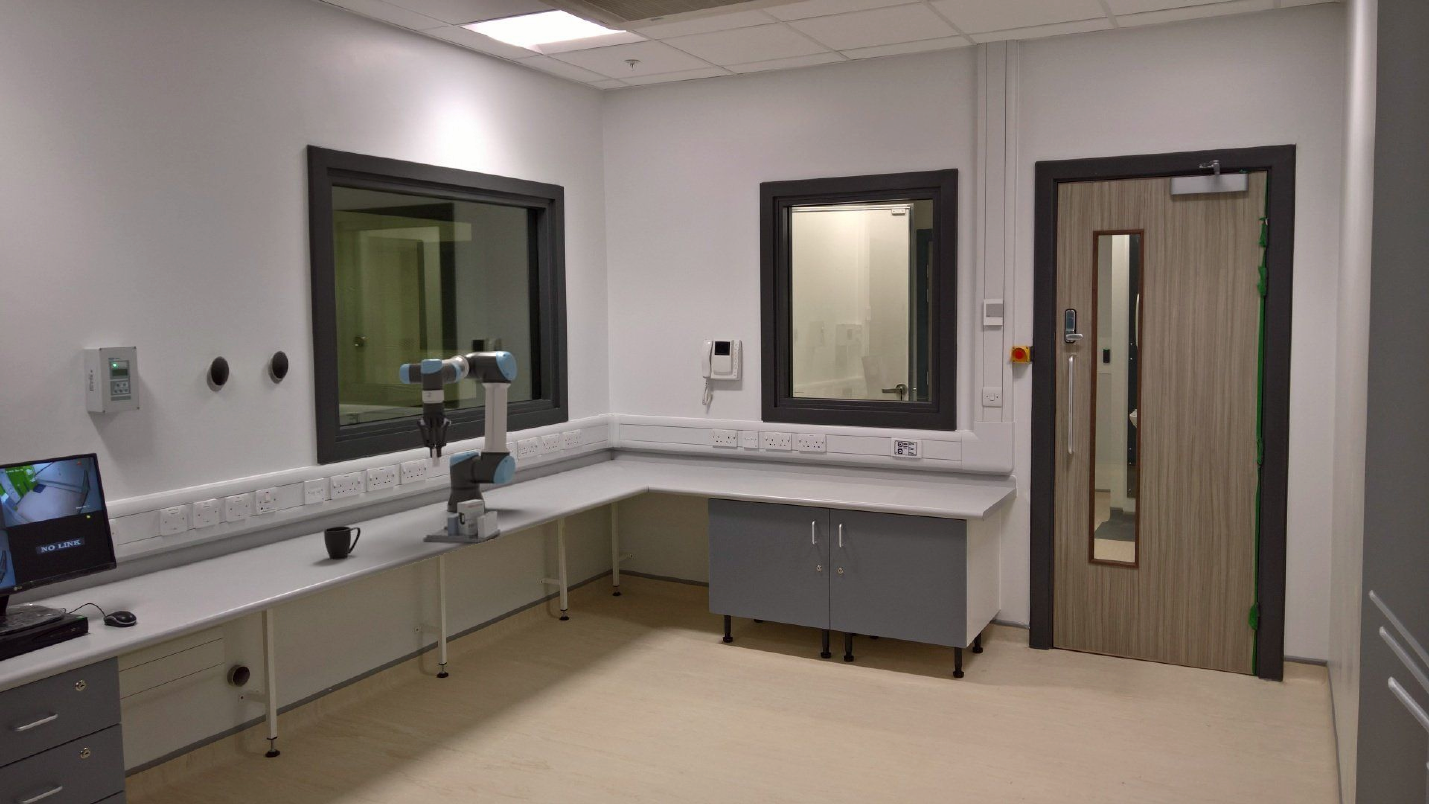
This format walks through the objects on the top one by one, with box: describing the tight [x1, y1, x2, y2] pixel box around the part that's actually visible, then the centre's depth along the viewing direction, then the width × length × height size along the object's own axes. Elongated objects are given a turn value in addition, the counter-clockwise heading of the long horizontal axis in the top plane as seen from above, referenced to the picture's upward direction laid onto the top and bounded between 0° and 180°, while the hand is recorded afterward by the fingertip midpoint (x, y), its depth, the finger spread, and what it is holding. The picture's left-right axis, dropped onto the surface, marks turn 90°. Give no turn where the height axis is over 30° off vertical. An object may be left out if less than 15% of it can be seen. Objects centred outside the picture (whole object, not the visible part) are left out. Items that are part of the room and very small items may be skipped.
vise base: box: [422, 510, 501, 543], centre depth 358 cm, size 16×22×8 cm
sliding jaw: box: [446, 512, 459, 535], centre depth 358 cm, size 12×2×7 cm, turn 170°
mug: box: [323, 526, 361, 560], centre depth 332 cm, size 8×12×10 cm
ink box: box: [457, 499, 485, 536], centre depth 357 cm, size 9×5×12 cm, turn 145°
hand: (436, 466), depth 365 cm, fingers closed
